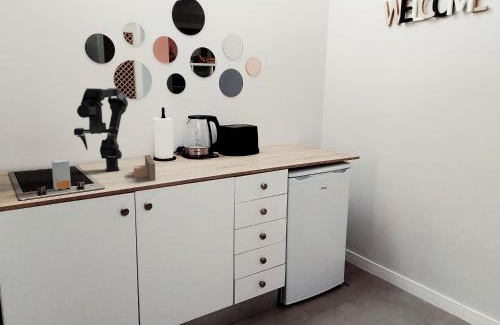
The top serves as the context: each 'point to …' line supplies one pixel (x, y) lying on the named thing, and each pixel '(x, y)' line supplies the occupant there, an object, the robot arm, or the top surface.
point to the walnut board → (150, 167)
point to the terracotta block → (141, 171)
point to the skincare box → (61, 174)
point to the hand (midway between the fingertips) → (97, 149)
